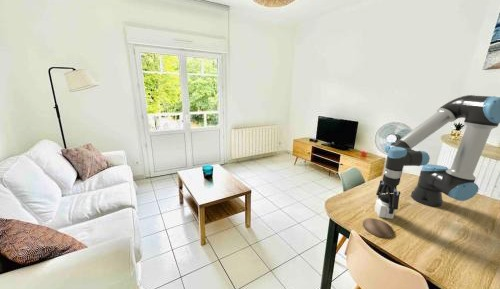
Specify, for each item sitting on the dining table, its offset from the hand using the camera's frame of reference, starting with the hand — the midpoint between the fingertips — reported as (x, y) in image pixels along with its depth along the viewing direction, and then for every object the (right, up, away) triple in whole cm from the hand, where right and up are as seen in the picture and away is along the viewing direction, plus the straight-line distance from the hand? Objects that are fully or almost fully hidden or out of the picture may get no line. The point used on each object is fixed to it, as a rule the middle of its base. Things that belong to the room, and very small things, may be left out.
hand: (383, 213), depth 115 cm
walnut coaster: (-10, -4, -11) cm, 16 cm away
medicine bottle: (0, -1, 0) cm, 1 cm away
